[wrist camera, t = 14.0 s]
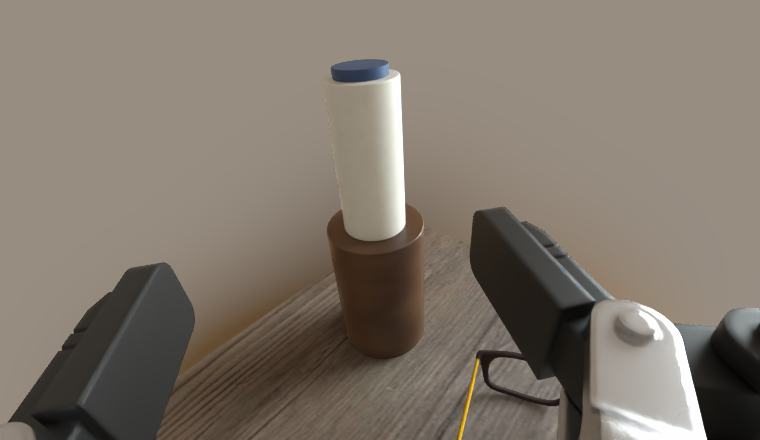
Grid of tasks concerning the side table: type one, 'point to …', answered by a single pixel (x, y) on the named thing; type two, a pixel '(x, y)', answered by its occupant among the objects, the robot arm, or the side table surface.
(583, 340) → the robot arm
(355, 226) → the tube
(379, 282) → the stand
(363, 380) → the side table surface
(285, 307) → the side table surface
